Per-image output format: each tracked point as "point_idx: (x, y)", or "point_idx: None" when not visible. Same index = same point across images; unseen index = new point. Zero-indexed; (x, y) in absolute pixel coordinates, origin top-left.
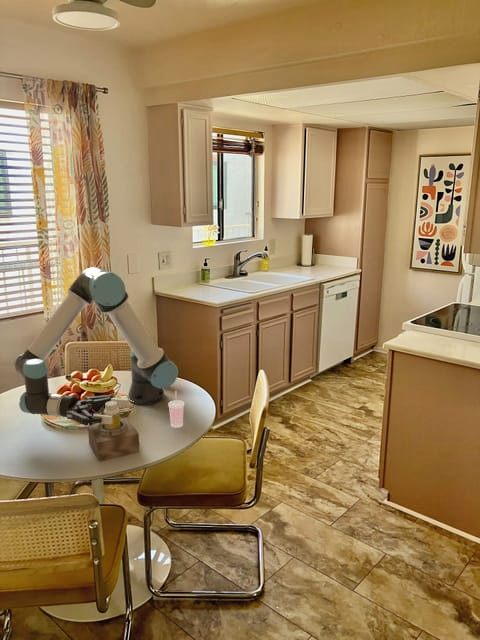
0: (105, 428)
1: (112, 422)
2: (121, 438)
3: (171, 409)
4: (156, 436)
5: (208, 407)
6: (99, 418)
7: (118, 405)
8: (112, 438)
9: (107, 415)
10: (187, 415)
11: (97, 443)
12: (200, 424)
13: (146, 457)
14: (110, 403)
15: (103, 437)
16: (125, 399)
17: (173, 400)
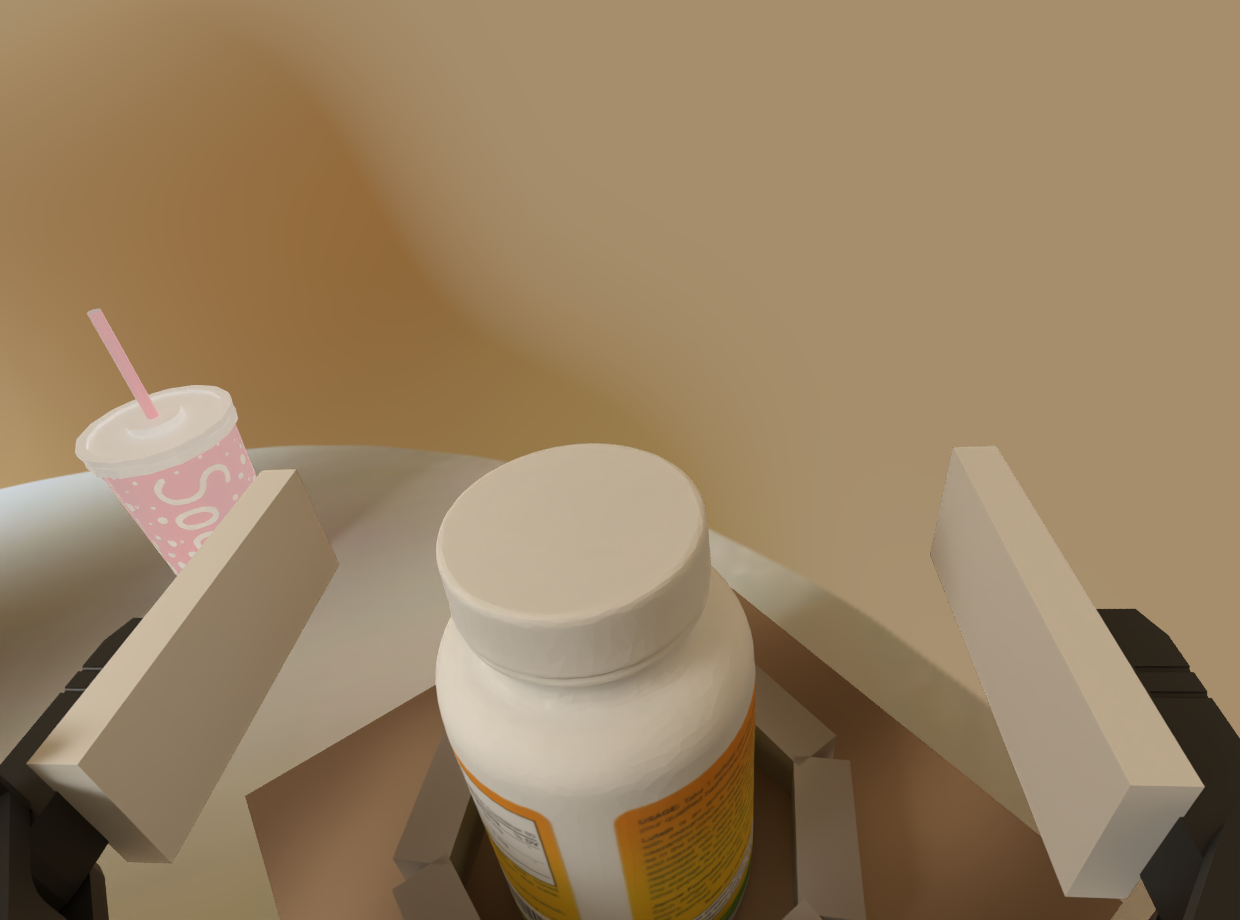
0: (732, 902)
1: (936, 541)
2: (811, 665)
3: (210, 462)
4: (413, 640)
5: (33, 486)
6: (1131, 635)
7: (252, 691)
8: (890, 736)
9: (753, 679)
10: (99, 554)
11: (1117, 909)
12: (277, 469)
13: (757, 604)
14: (584, 522)
15: (926, 874)
16: (240, 507)
17: (76, 448)
